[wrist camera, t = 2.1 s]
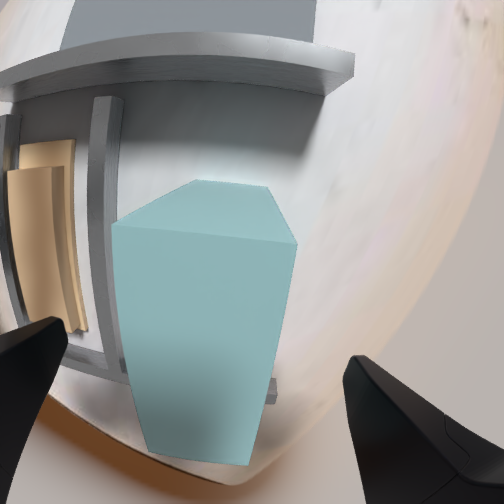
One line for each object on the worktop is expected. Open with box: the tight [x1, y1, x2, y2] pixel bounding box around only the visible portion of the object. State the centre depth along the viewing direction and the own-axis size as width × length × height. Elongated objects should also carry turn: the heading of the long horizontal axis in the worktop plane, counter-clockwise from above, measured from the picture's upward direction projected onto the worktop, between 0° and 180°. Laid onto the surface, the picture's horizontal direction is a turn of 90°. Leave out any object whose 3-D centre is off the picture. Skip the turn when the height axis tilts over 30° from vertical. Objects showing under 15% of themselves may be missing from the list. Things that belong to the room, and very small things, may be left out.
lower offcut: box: [19, 139, 88, 331], centre depth 14 cm, size 4×12×1 cm, turn 173°
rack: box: [0, 32, 355, 404], centre depth 12 cm, size 19×19×4 cm
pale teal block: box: [111, 180, 297, 466], centre depth 11 cm, size 4×8×9 cm, turn 173°
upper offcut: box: [7, 166, 81, 333], centre depth 13 cm, size 4×10×1 cm, turn 174°
